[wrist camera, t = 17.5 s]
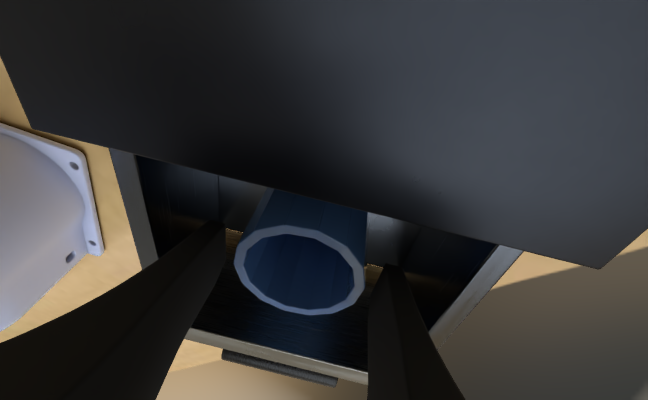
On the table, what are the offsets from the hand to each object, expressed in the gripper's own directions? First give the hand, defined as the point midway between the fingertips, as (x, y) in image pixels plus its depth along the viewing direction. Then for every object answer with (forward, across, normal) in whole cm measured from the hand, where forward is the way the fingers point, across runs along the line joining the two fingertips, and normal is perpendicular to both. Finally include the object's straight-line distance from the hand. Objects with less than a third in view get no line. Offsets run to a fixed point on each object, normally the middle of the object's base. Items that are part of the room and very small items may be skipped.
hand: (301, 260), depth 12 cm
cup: (+4, 0, 0) cm, 4 cm away
